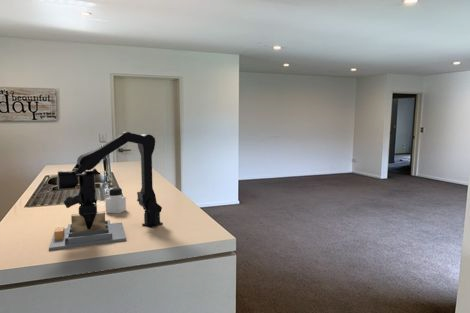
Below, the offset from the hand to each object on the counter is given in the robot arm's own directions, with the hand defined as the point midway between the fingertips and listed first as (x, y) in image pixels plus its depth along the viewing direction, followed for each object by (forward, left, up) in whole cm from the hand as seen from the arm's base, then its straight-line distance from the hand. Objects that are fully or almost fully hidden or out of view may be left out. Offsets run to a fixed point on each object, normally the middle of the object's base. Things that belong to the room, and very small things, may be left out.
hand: (89, 225), depth 133 cm
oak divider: (0, 0, -3) cm, 3 cm away
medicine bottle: (+22, -30, -4) cm, 37 cm away
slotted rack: (0, 0, -4) cm, 4 cm away
